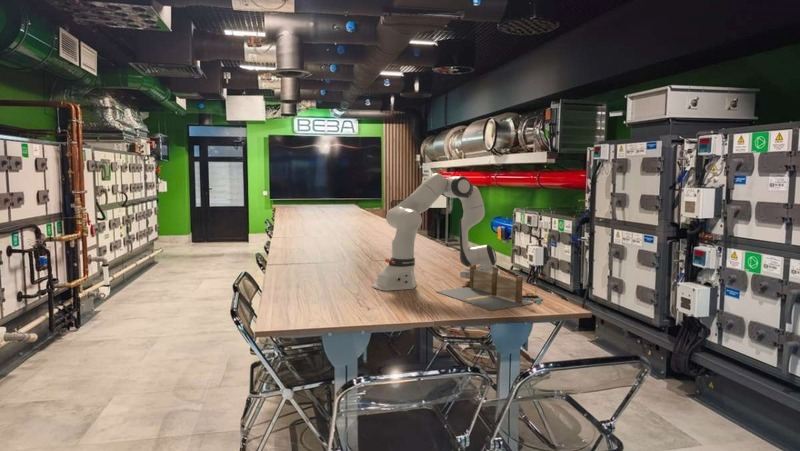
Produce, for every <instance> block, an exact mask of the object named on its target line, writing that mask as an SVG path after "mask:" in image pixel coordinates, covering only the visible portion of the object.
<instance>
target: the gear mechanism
mask: <svg viewBox="0 0 800 451" xmlns="http://www.w3.org/2000/svg"><path fill="white" fill-rule="evenodd" d="M538 298H539V299H538ZM522 299H523V300H525V301H527V300H532V301H531V302H532V303H533V304H535V303H536V304H537V305H541V301H540V300H543V301H544V298H542V297H541V296H540V295H538V294H537V287H536V288H535V294H534V293H533V292H525V294H524V295H522Z"/></svg>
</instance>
